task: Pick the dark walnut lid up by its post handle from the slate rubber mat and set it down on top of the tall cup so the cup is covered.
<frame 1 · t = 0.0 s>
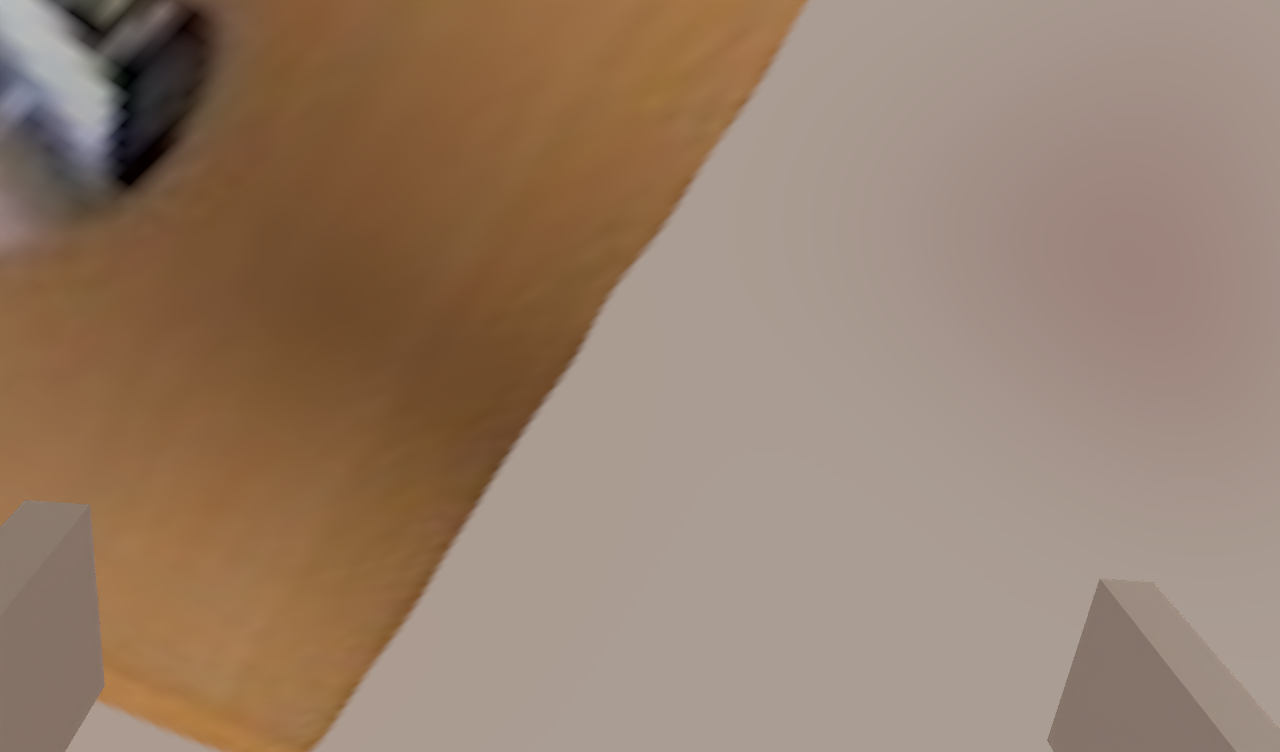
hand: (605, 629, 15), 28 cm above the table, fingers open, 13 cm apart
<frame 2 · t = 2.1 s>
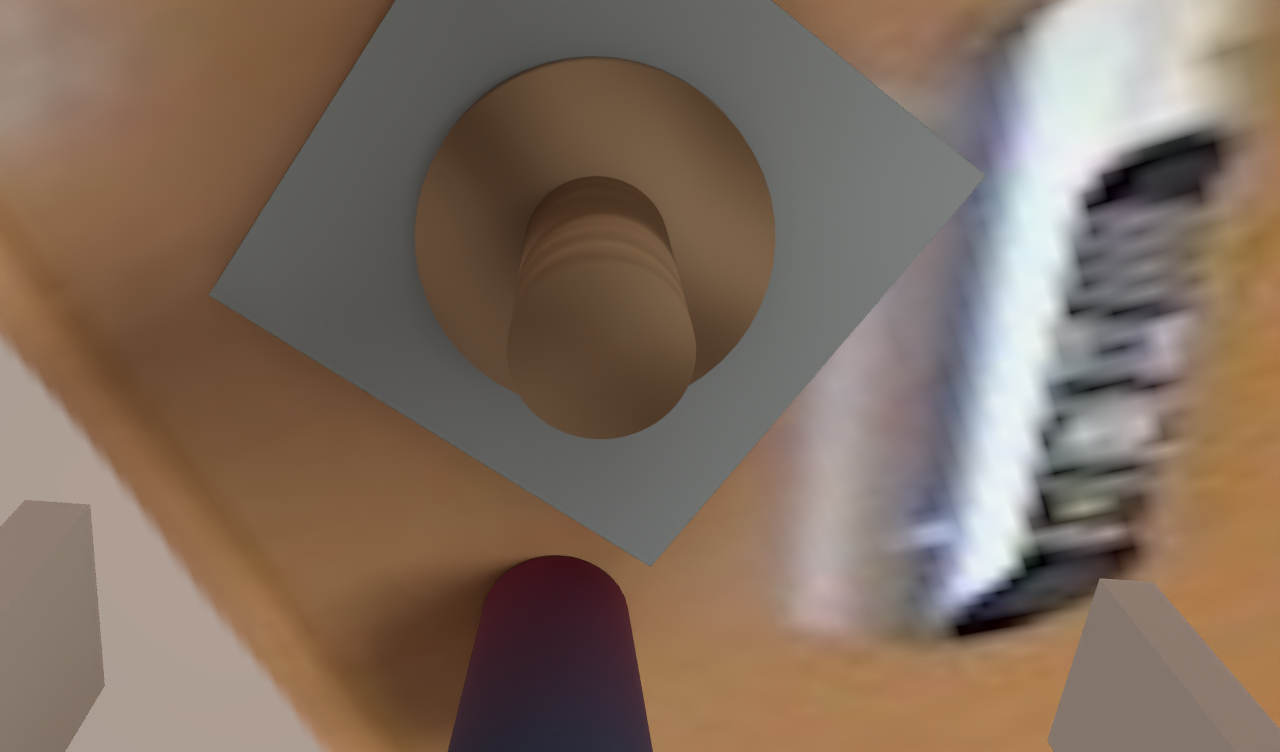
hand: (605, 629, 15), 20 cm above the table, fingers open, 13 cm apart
mat: (595, 226, 33), on the table
cup: (555, 614, 38), on the table
lid: (596, 235, 32), point 1 cm above the table, touching mat
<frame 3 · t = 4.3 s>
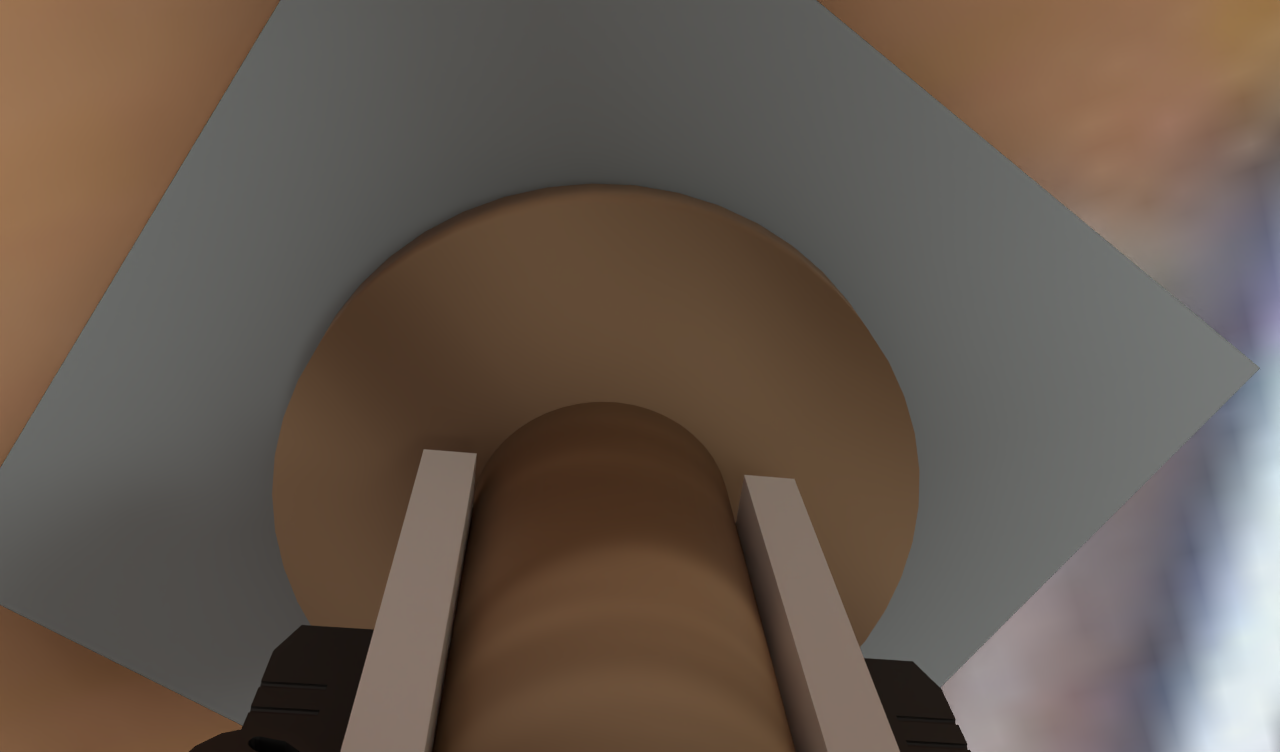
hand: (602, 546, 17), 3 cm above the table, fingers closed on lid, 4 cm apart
mat: (595, 444, 20), on the table
lid: (599, 482, 18), point 1 cm above the table, touching gripper
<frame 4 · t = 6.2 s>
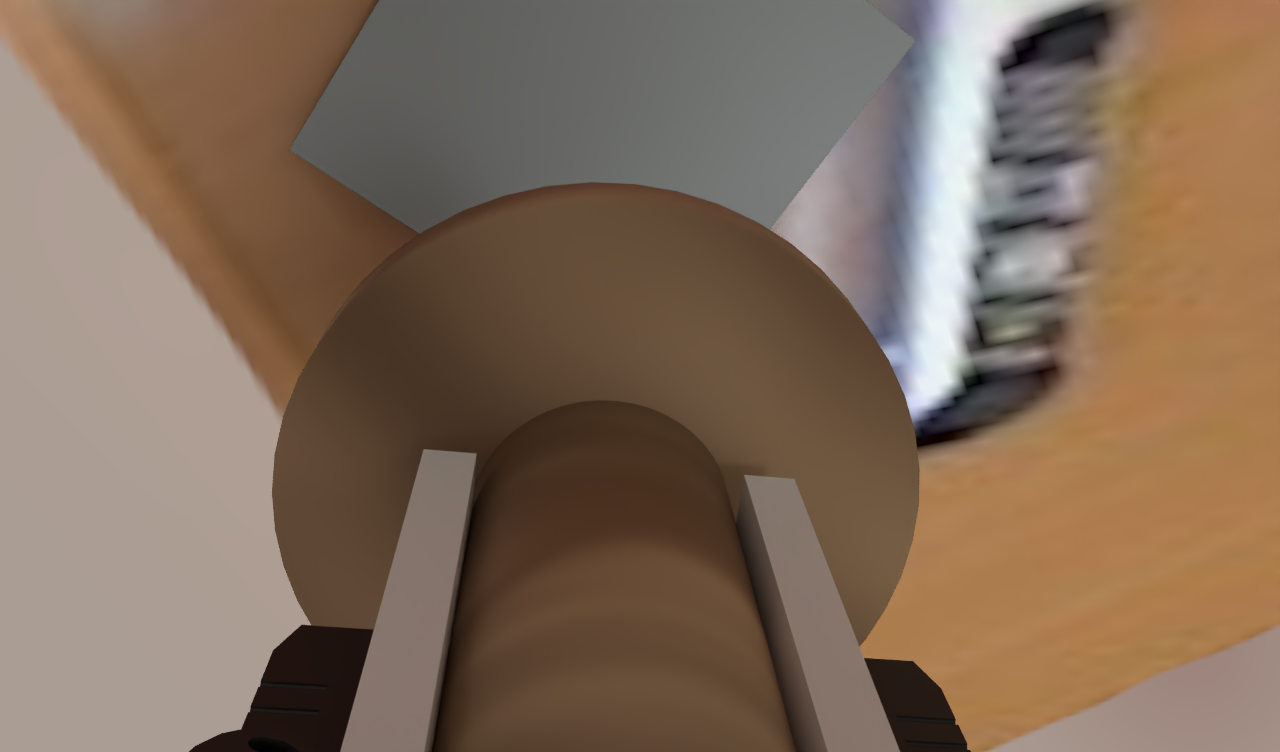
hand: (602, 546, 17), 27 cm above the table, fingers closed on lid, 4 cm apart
mat: (600, 91, 40), on the table
lid: (599, 481, 18), point 25 cm above the table, touching gripper
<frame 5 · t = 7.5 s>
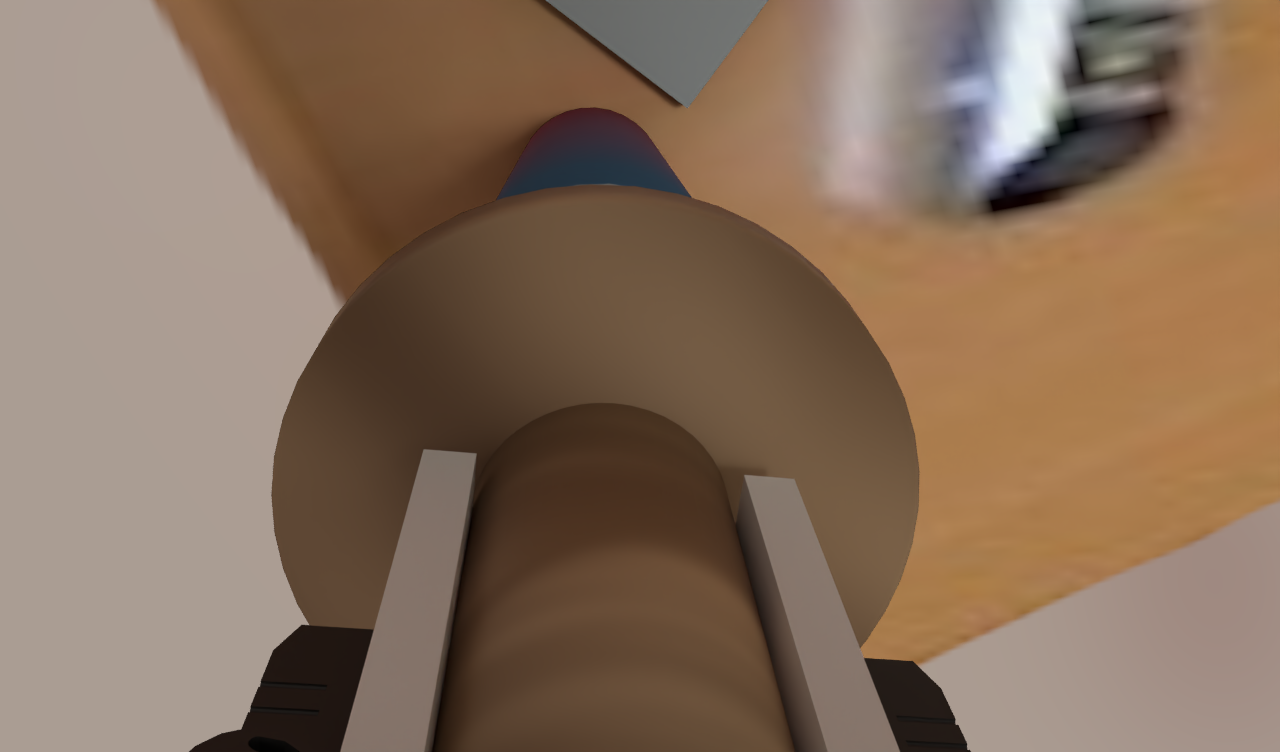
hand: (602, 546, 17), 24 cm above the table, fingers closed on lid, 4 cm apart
cup: (591, 179, 38), on the table
lid: (599, 483, 18), point 22 cm above the table, touching gripper
when the fingers open (19 cm above the table, at t = 8.4 s): lid drops 2 cm, resting on cup.
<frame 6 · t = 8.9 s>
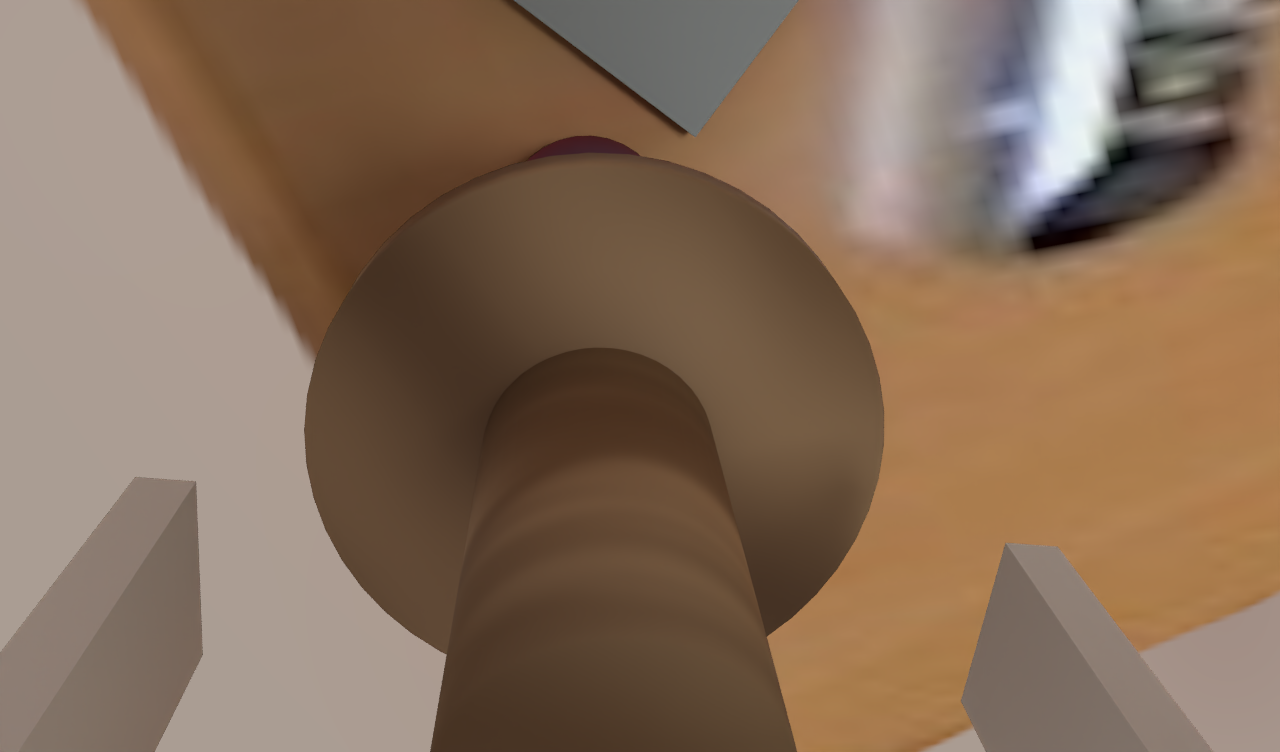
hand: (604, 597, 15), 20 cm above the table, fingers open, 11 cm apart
cup: (586, 215, 34), on the table, touching lid
lid: (597, 425, 20), point 15 cm above the table, touching cup
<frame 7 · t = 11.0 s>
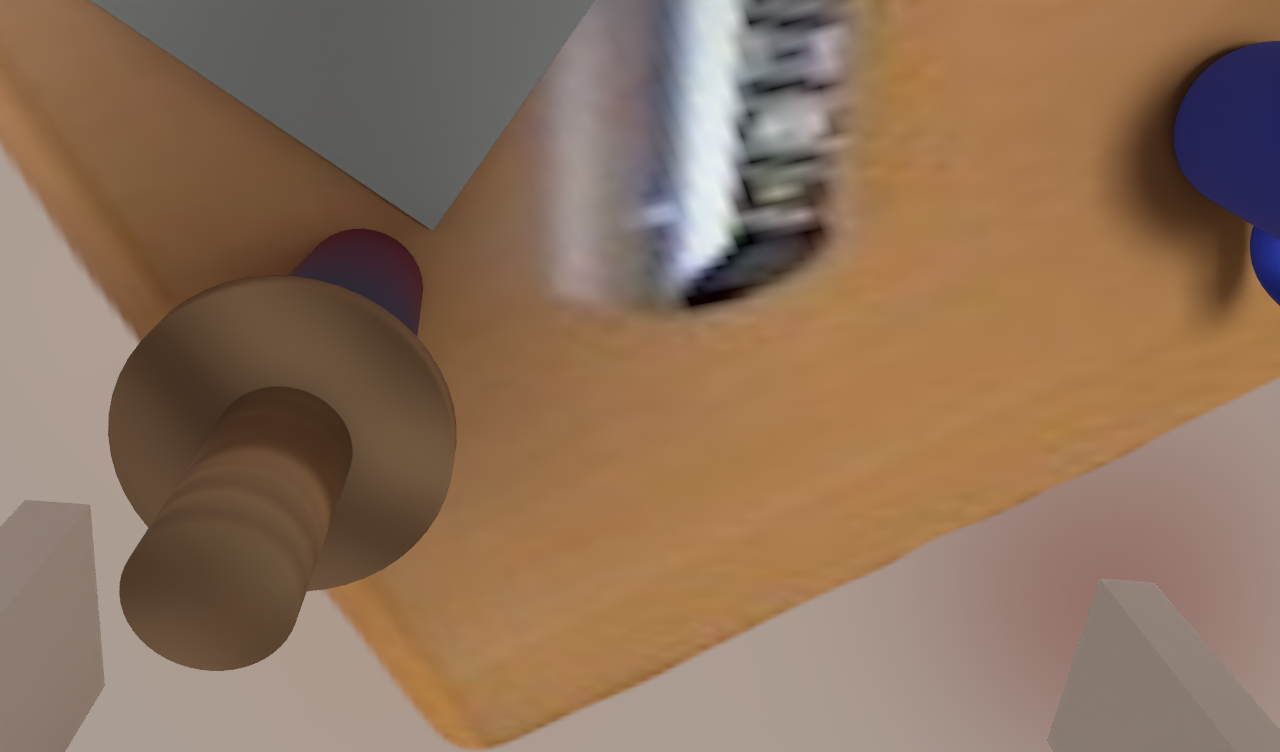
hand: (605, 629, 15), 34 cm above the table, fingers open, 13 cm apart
cup: (364, 283, 48), on the table, touching lid
mug: (1236, 162, 49), on the table
lid: (292, 431, 34), point 15 cm above the table, touching cup
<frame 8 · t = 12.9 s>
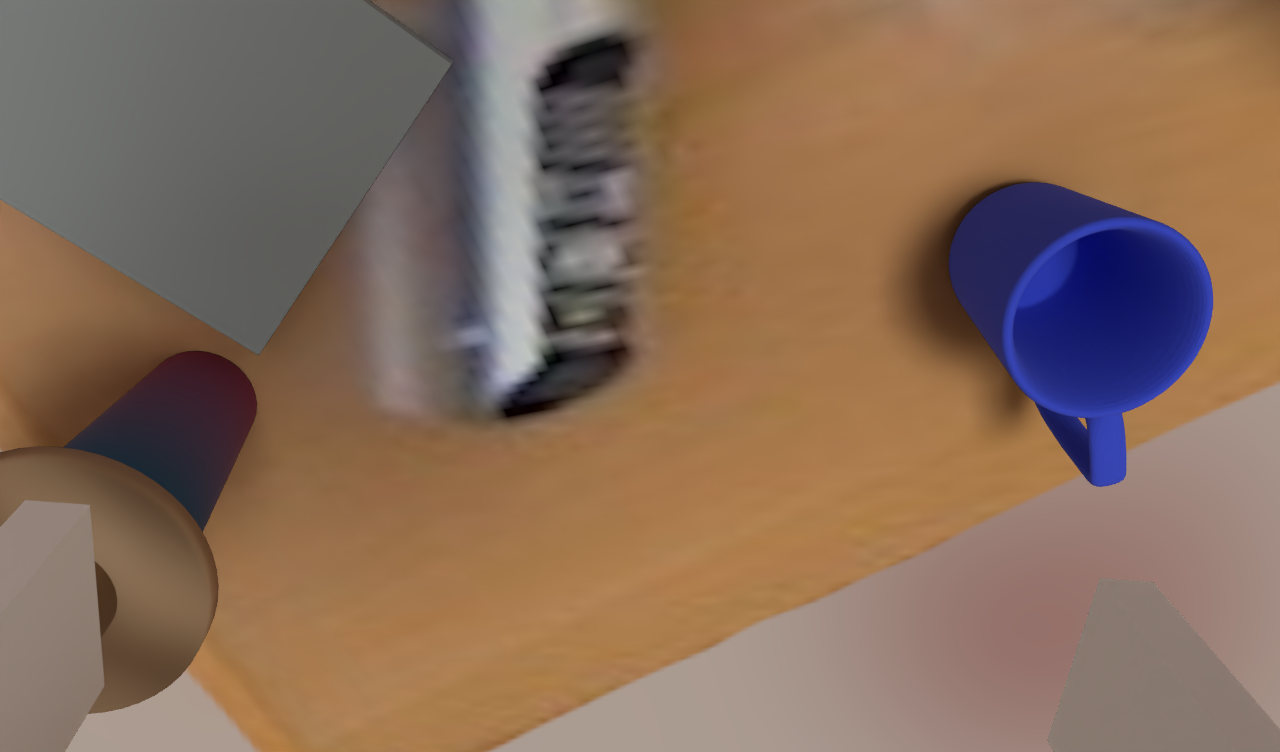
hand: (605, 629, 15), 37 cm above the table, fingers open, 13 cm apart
mat: (190, 102, 47), on the table
cup: (204, 398, 53), on the table, touching lid
mug: (1016, 286, 53), on the table
lid: (70, 575, 39), point 15 cm above the table, touching cup
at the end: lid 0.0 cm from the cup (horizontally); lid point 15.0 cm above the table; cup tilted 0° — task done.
